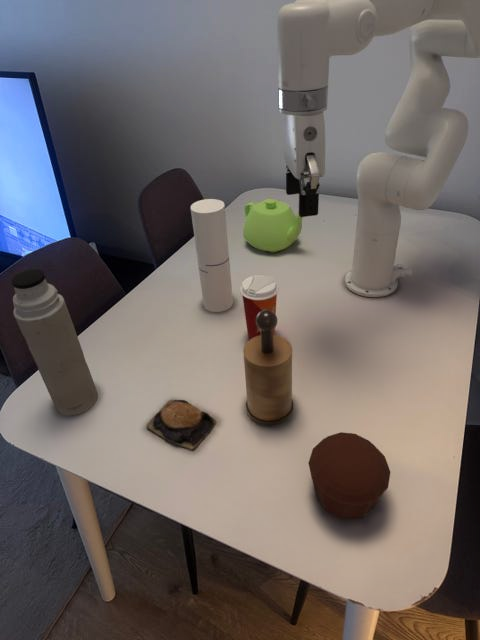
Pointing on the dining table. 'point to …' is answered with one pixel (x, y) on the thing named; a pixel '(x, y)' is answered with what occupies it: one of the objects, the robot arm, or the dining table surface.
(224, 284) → the cylindrical container
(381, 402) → the dining table surface
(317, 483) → the muffin
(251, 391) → the paper towel holder
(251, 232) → the teapot
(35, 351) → the thermos bottle
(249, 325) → the paper cup
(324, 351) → the dining table surface
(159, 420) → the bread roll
